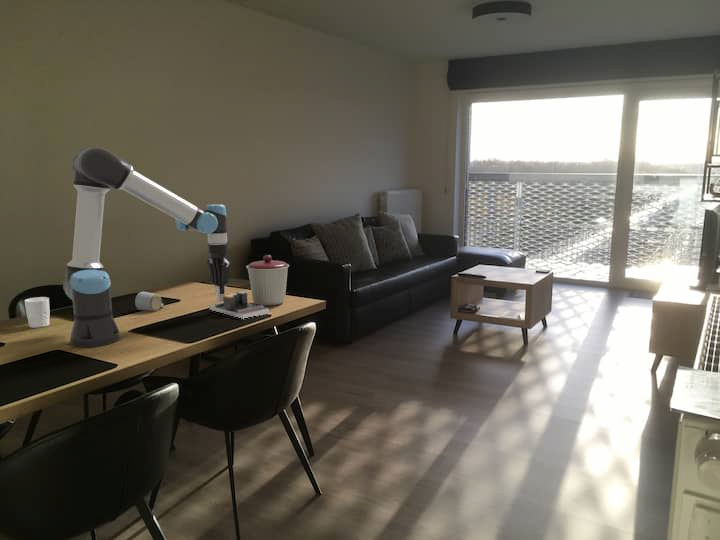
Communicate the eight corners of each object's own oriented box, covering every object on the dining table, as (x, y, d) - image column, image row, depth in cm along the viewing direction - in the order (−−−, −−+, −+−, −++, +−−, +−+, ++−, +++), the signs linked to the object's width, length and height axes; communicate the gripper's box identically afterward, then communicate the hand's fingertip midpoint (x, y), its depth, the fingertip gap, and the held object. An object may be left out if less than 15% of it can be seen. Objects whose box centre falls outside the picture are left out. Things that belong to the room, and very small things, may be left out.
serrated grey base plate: (242, 319, 218) (241, 301, 217) (209, 310, 232) (208, 294, 231) (269, 313, 228) (268, 296, 226) (235, 305, 242) (235, 289, 241)
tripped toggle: (229, 309, 224) (229, 297, 223) (223, 307, 227) (223, 295, 226) (235, 308, 226) (234, 295, 225) (229, 306, 229) (228, 294, 228)
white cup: (56, 323, 214) (53, 297, 212) (39, 329, 207) (36, 302, 205) (39, 322, 216) (36, 296, 214) (22, 327, 209) (19, 301, 207)
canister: (283, 308, 235) (281, 258, 231) (241, 307, 238) (239, 257, 234) (295, 299, 253) (293, 252, 249) (256, 298, 255) (254, 251, 252)
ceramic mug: (151, 313, 229) (150, 294, 228) (135, 311, 232) (134, 293, 230) (168, 307, 239) (167, 290, 237) (152, 306, 241) (151, 288, 240)
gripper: (235, 243, 224) (238, 302, 228) (216, 241, 233) (219, 297, 237) (219, 245, 219) (222, 305, 223) (200, 243, 227) (203, 300, 231)
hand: (220, 301), depth 230 cm, fingers closed
